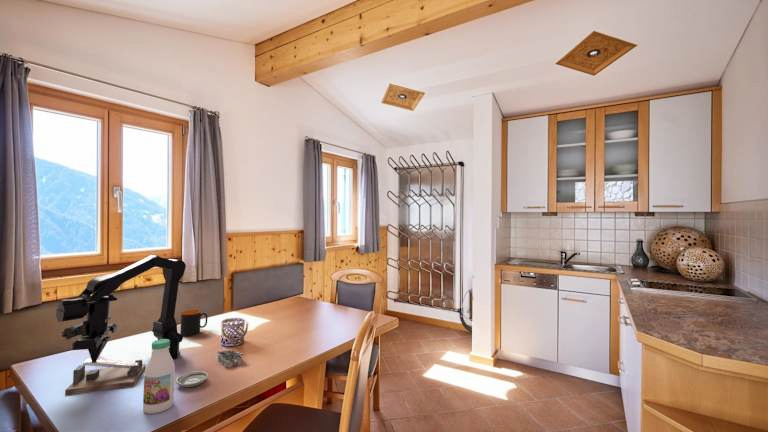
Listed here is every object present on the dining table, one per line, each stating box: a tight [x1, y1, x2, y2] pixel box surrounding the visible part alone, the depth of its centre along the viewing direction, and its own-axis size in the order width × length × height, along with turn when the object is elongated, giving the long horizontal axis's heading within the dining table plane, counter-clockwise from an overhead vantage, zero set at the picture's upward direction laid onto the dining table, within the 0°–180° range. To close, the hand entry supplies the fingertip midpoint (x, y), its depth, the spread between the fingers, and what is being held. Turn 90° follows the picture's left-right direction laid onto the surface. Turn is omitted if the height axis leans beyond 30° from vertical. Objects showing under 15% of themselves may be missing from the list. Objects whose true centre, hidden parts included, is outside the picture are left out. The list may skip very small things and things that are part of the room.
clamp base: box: [64, 359, 147, 395], centre depth 116 cm, size 18×14×6 cm
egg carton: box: [216, 349, 244, 368], centre depth 134 cm, size 11×8×4 cm
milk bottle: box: [142, 339, 176, 415], centre depth 101 cm, size 8×8×20 cm
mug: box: [179, 309, 208, 338], centre depth 164 cm, size 8×12×10 cm
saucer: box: [175, 370, 209, 388], centre depth 116 cm, size 10×10×2 cm
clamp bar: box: [82, 358, 140, 369], centre depth 117 cm, size 16×3×1 cm, turn 112°
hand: (94, 360), depth 115 cm, fingers closed, pressing on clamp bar
